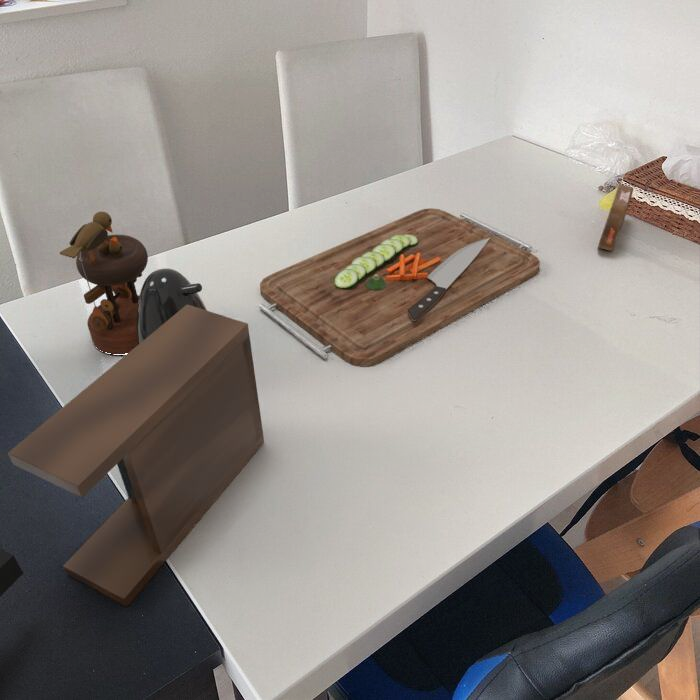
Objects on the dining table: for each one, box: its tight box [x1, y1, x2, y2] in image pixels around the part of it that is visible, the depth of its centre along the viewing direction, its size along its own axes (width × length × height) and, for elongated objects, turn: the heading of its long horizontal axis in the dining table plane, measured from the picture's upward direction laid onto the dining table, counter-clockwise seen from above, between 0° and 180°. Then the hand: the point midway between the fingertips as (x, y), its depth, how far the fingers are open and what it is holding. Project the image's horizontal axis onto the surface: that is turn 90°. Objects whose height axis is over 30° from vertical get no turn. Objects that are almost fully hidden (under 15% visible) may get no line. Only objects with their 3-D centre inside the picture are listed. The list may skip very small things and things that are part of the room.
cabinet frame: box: [7, 305, 265, 608], centre depth 70 cm, size 8×24×18 cm, turn 153°
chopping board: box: [258, 207, 541, 368], centre depth 109 cm, size 45×27×3 cm, turn 130°
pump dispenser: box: [136, 267, 208, 345], centre depth 89 cm, size 10×10×15 cm
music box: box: [59, 211, 149, 354], centre depth 94 cm, size 15×11×20 cm
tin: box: [597, 182, 634, 251], centre depth 116 cm, size 15×3×8 cm, turn 155°
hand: (12, 561), depth 59 cm, fingers closed
